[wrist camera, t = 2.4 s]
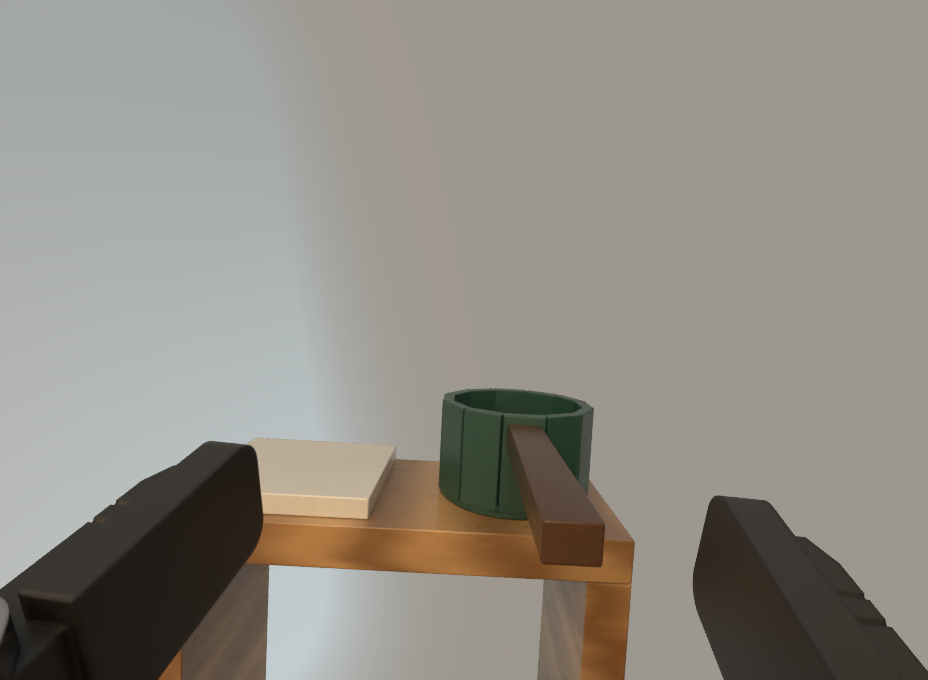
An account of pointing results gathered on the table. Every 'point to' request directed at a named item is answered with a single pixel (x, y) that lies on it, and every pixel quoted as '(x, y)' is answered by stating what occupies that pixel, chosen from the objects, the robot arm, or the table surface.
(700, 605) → the robot arm
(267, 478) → the beige trivet
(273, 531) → the oak stand
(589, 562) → the saucepan
